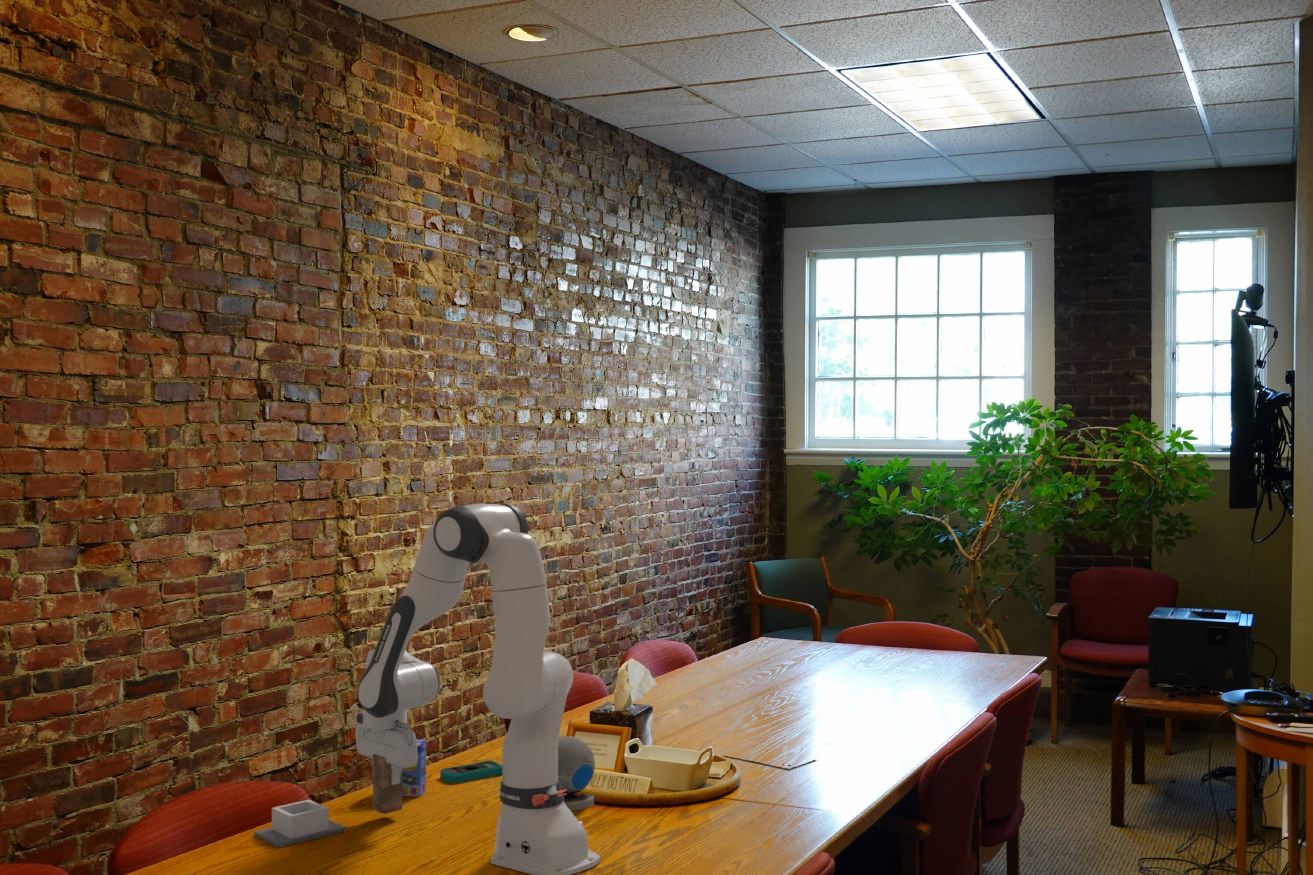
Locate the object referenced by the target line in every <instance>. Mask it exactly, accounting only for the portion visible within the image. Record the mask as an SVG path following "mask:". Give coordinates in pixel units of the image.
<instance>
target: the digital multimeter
mask: <svg viewBox="0 0 1313 875" xmlns="http://www.w3.org/2000/svg"><path fill="white" fill-rule="evenodd" d="M439 771H440V772H439V774H440V775H439V776H440V778H441V780H442V782H443V781H444V782H445V783H448V784H451V783H457V784H461V783H460V782H462V783H465V782H464V781H467V782H470V781H469V780H472V781H475V780H476V779H477V780H482V779H486V778H485V777H488V778H491V777H490V776H494V777H498V775H500V776H503V764H500V763H498V762H497V761H493V760H489V759H488V760H484V761H480V762H474V763H469V764H464V765H456V766H451V767H445V768H442V769H441V770H439ZM481 778H482V779H481ZM477 780H476V781H477Z"/></svg>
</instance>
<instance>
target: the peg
mask: <svg viewBox="0 0 1313 875" xmlns="http://www.w3.org/2000/svg"><path fill="white" fill-rule="evenodd" d="M392 770H393V769H391V764H388V763H386V762H385V758H384V757H381V756H378V755H375V754H373V765H372V801H373V802H372V808H373V811H376V812H377V813H381V814H383V815H386V814H390V813H394V812H397V811H401V810H403V796H402V772H401V774H400V783H399V784H395V785H393V784H390V783H389V776H390V775H391V774H392Z"/></svg>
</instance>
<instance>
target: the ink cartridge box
mask: <svg viewBox="0 0 1313 875" xmlns="http://www.w3.org/2000/svg"><path fill="white" fill-rule="evenodd" d="M416 742H417V751H418V762H417V764H416V766H413V767H409V768H403V769H402V797H411V798H412V797H414V798H415V797H418V798H419V797H421V796H422V795H423V794H424V793H425V792H426V791H427V740H425V739H416Z"/></svg>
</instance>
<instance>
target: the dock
mask: <svg viewBox="0 0 1313 875" xmlns="http://www.w3.org/2000/svg"><path fill="white" fill-rule="evenodd" d="M346 829H347V828H346V827H345V826H344V825H341V824H339V823H337V822H335V821H332V820H330V817H329V807H327V806H325V805H323V804H320V803H318V802H316V801H313V800H311V799H306V800H302V801H297V802H293V803H292V802H291V803H287V804H284V805H278V806H275V807H272V808H271V827H269V828H268V827H267V828H263V829H259V830H255V831H253V832H254V836H255V837H257V838H259V839H261V840H262V841H264V842H267V843H268V844H270V845H272V846H274V847H276V848H277V849H279V848H283V847H287V846H291V845H297V844H299V843H303V842H308V841H311V840H316V839H319V838H323V837H328V836H332V835H335V834H334V833H336V834H339V833H338V832H340V833H342V832H341V831H344V830H345V831H346ZM345 831H344V832H345ZM331 834H332V835H331Z"/></svg>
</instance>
